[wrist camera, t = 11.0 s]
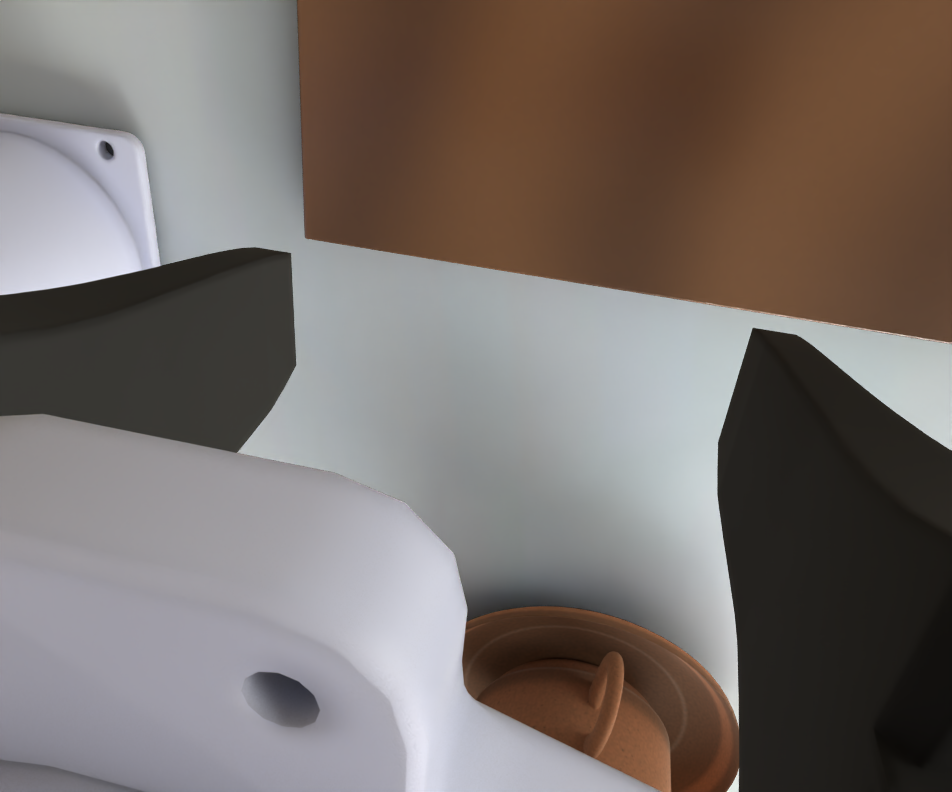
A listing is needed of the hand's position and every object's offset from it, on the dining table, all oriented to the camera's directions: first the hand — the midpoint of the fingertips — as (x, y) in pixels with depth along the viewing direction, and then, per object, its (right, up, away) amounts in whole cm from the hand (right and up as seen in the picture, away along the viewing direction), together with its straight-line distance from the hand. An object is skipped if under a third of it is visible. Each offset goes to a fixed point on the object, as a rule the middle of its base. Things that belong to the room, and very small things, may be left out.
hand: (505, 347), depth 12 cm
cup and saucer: (+3, -12, +18) cm, 22 cm away
